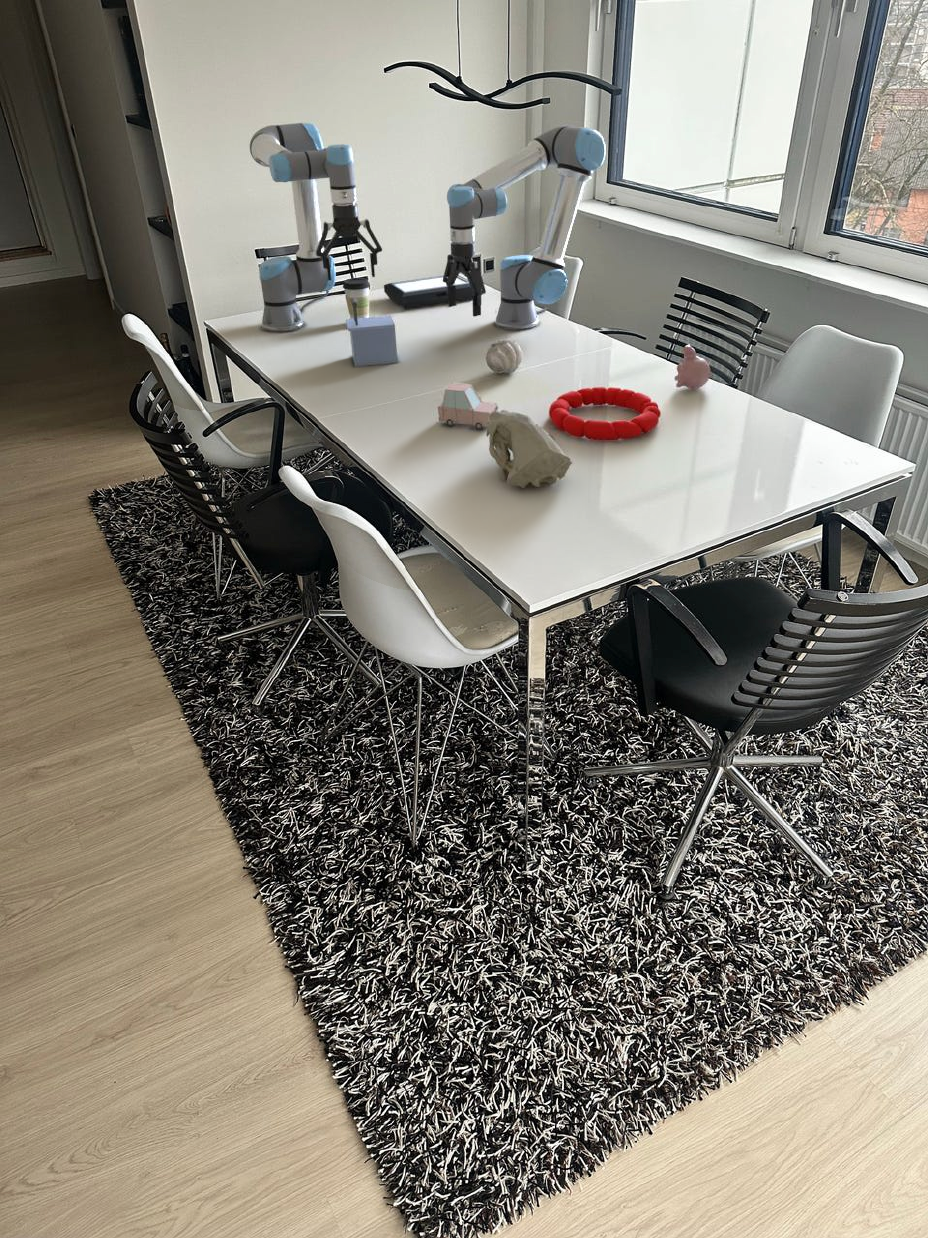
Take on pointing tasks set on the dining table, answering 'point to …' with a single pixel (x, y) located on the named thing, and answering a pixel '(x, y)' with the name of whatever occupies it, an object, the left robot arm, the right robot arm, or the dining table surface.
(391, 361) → the chest
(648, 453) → the dining table surface
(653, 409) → the decorative ring
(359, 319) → the lid
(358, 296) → the coffee cup
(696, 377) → the figurine
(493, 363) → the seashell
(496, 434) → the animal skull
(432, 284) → the electronic device
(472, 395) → the toy car
